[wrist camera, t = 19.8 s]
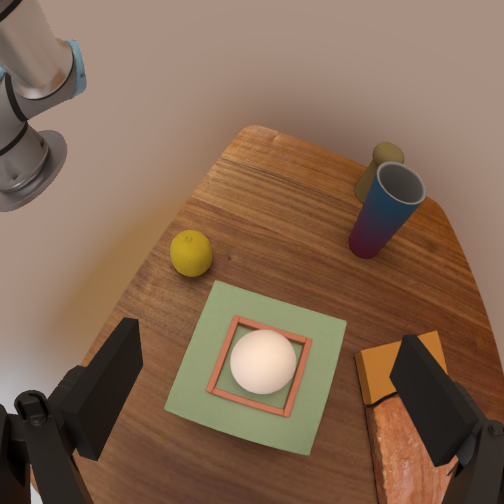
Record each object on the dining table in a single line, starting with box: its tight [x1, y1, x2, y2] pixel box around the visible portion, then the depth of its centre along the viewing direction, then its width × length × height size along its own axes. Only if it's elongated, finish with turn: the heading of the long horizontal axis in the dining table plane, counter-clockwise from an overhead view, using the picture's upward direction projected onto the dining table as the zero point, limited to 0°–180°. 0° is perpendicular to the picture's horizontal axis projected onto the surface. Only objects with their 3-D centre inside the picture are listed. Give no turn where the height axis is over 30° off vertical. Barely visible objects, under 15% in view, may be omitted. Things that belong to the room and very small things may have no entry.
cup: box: [349, 162, 426, 258], centre depth 41 cm, size 7×7×15 cm
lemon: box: [170, 230, 213, 277], centre depth 41 cm, size 6×6×8 cm
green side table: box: [164, 280, 347, 456], centre depth 32 cm, size 14×14×12 cm
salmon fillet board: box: [354, 331, 458, 504], centre depth 31 cm, size 13×30×3 cm, turn 8°
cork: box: [354, 142, 404, 203], centre depth 47 cm, size 6×6×11 cm
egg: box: [230, 330, 296, 394], centre depth 25 cm, size 5×5×8 cm
